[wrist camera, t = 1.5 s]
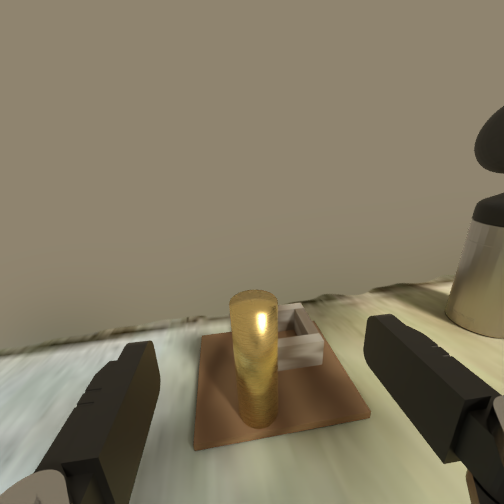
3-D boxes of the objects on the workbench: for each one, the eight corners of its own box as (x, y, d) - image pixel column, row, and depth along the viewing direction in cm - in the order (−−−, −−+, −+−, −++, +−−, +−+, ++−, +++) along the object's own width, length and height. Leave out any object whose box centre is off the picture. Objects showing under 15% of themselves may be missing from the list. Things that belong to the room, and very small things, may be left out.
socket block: (313, 325, 41) (315, 300, 39) (369, 417, 26) (376, 384, 24) (202, 340, 39) (198, 315, 37) (194, 450, 24) (187, 417, 22)
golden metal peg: (273, 388, 29) (271, 287, 24) (282, 424, 25) (283, 313, 20) (237, 393, 28) (228, 292, 23) (241, 432, 24) (230, 319, 19)
